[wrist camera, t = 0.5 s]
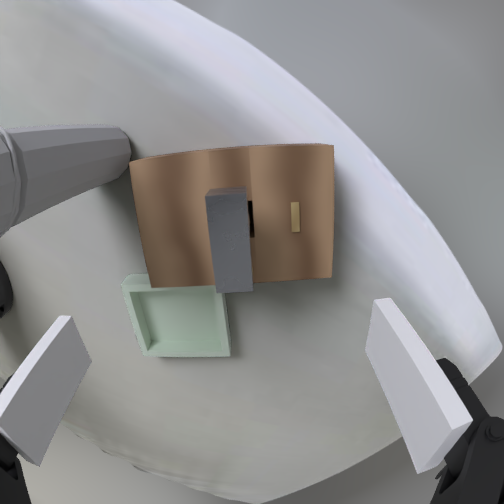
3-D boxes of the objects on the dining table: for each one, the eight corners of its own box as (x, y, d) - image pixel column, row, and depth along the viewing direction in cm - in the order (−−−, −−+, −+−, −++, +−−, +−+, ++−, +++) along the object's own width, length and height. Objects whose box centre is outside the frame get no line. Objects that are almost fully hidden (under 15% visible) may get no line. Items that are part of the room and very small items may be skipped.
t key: (226, 242, 35) (216, 293, 24) (220, 174, 32) (204, 196, 21) (251, 240, 35) (253, 291, 24) (246, 172, 32) (246, 193, 21)
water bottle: (146, 139, 31) (-22, 167, 8) (116, 194, 33) (-35, 291, 10) (91, 106, 29) (-78, 106, 6) (65, 159, 31) (-92, 214, 8)
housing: (164, 265, 37) (150, 288, 31) (147, 157, 32) (128, 162, 26) (319, 255, 37) (332, 278, 31) (319, 143, 32) (334, 145, 26)
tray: (148, 343, 42) (143, 356, 39) (128, 274, 38) (120, 285, 35) (231, 342, 42) (230, 356, 39) (222, 269, 38) (220, 280, 35)
